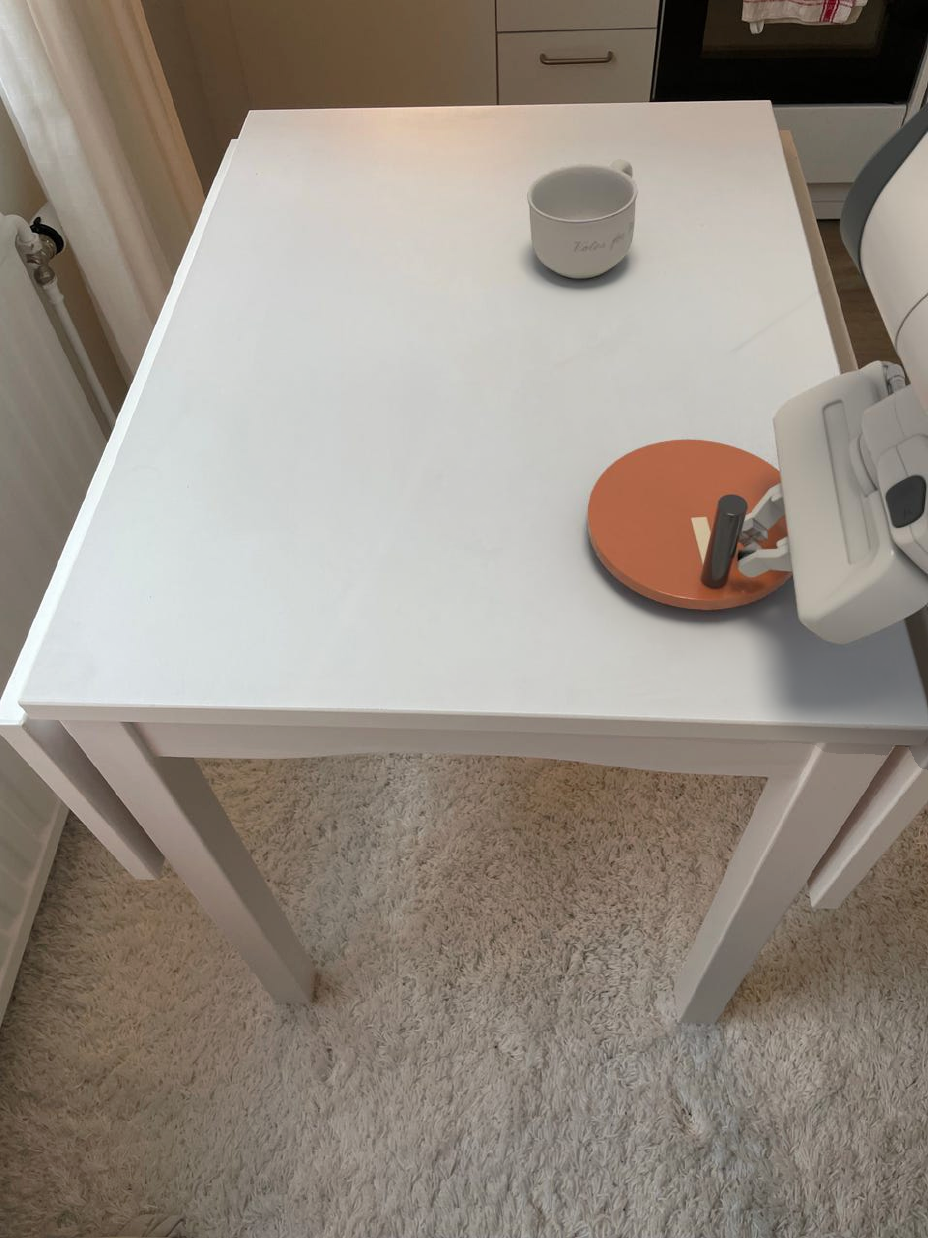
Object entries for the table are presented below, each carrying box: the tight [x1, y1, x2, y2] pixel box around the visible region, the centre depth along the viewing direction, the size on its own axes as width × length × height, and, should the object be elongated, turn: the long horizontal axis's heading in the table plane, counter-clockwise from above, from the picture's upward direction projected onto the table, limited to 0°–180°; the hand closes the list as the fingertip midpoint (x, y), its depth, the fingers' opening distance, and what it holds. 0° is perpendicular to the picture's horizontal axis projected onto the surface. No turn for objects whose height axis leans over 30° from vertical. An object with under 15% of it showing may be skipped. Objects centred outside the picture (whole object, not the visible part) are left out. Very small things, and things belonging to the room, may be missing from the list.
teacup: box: [526, 159, 639, 279], centre depth 98 cm, size 14×11×8 cm
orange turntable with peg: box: [586, 438, 793, 611], centre depth 72 cm, size 17×17×9 cm
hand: (740, 551), depth 69 cm, fingers closed
